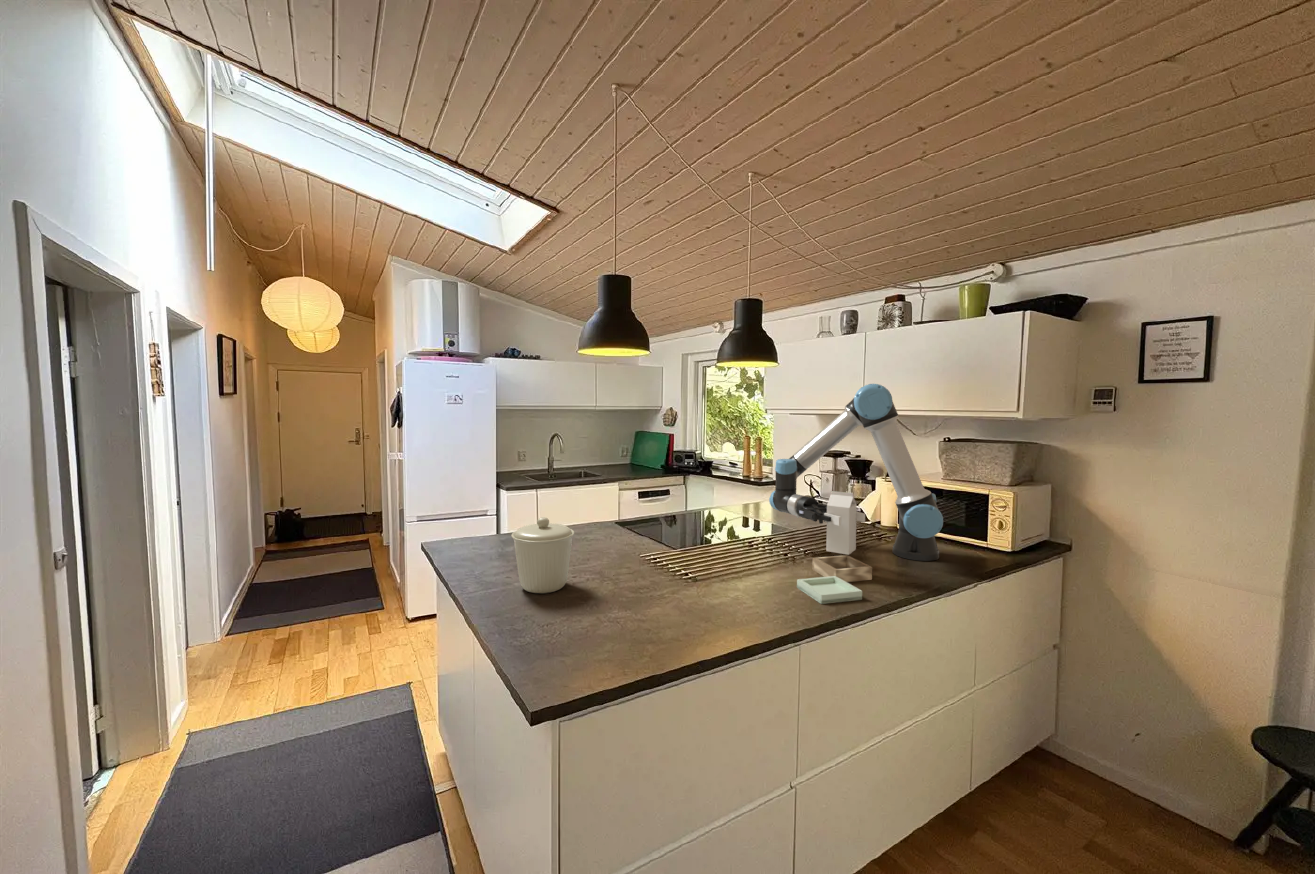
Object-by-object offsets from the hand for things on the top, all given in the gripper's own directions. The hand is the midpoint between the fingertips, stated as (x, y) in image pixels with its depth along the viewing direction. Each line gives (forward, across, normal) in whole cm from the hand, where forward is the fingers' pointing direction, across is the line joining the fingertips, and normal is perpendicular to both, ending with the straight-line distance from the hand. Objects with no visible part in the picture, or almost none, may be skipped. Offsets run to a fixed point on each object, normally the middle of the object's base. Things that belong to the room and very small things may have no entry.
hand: (852, 519), depth 165 cm
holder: (-4, 0, -19) cm, 19 cm away
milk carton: (-4, 0, -11) cm, 12 cm away
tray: (+7, +16, -19) cm, 25 cm away
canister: (-32, +89, -18) cm, 97 cm away
